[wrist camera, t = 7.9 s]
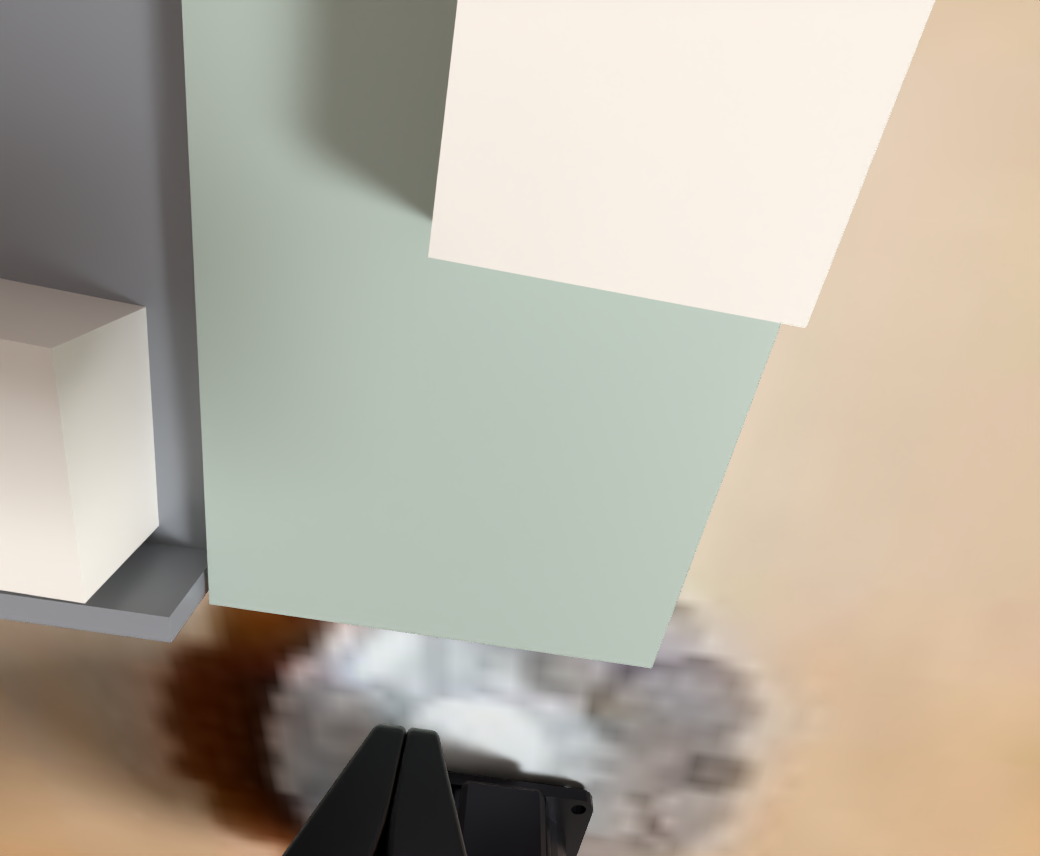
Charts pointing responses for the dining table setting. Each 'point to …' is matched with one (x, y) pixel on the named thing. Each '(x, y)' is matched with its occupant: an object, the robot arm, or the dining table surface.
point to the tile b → (667, 142)
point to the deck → (424, 365)
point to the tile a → (72, 440)
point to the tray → (112, 255)
